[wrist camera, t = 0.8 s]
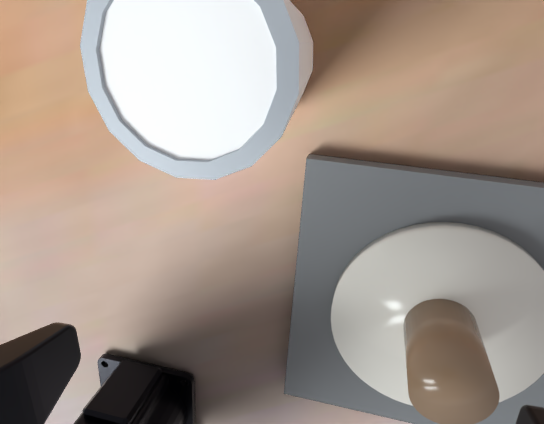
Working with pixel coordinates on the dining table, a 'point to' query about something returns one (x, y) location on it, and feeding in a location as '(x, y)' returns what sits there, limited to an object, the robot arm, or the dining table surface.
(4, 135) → the dining table surface
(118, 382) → the robot arm
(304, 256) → the mat
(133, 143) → the white cup
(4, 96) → the dining table surface
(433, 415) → the lid
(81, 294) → the dining table surface
